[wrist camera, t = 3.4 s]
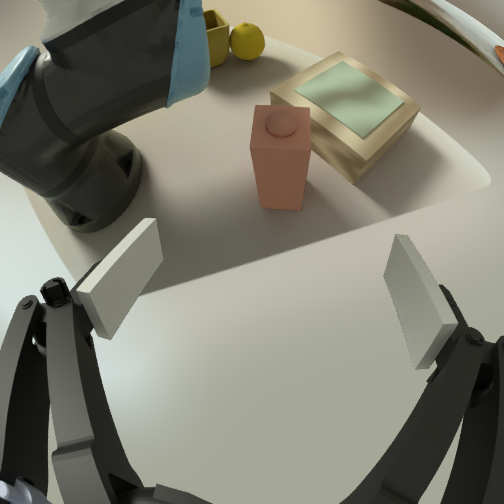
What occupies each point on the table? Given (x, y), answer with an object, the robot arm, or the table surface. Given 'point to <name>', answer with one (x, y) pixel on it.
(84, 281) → the robot arm
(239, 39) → the lemon
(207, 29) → the flower pot
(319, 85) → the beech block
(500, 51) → the ring
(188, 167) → the table surface
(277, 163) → the pink knobbed block
